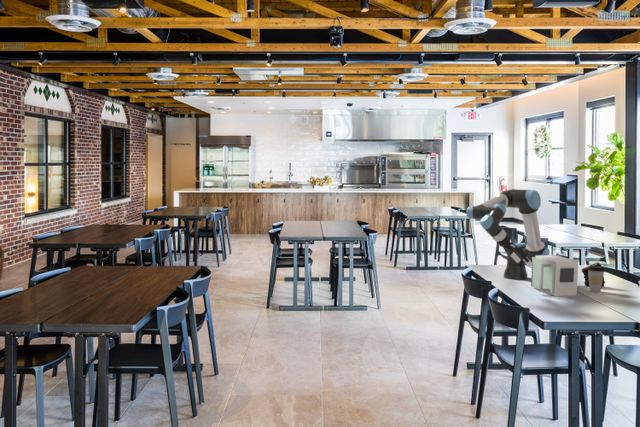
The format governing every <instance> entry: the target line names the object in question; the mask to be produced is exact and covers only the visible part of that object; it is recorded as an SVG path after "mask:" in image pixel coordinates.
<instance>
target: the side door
mask: <svg viewBox="0 0 640 427" xmlns="http://www.w3.org/2000/svg"><path fill="white" fill-rule="evenodd" d="M532 263H533V265H532V266H531V278H530V279H531V280H530V281H531V282H530V286H531V287H533V288H534V287H535V288H534V289H536V288H537V289H536V290H538V292H540V293H542V292H543V293H546V292H548V293H547V294H549V293H550V294H549V295H551V294H554V274H555V263H553V262H549V261H546V260H543V259H539V258H536V257H532Z"/></svg>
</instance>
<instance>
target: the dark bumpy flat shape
mask: <svg viewBox="0 0 640 427" xmlns="http://www.w3.org/2000/svg"><path fill="white" fill-rule="evenodd" d="M589 266H601V267H602V264H601V263H600V262H595V263H593V264H590V265H588V266H586V267H583V268H581V273H582V274H583V275H584V276H583V278H584V282H583V283H584V286H585V287H588V288H589V278H588V274H589V273H588V270H587V269H588V268H589ZM605 283H606V281H605V276H603V282H602V286H601V288H604V287H605Z"/></svg>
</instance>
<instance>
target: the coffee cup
mask: <svg viewBox="0 0 640 427" xmlns="http://www.w3.org/2000/svg"><path fill="white" fill-rule="evenodd" d="M588 266H589V268H588V269H587V270H588V273H589V274H588V278H589V287H588V289H589V292H591V293H595V294H596V293H597V294H598V293H601V291H602V287H601V286H602V282H603V276H604V275H605V268H604V266H602V265H601V266H590V265H588ZM604 277H605V276H604Z"/></svg>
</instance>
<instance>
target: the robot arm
mask: <svg viewBox="0 0 640 427" xmlns="http://www.w3.org/2000/svg"><path fill="white" fill-rule="evenodd" d="M541 201H542V198H541V194H540V193H539V192H538V191H537V190H534V189H508V190H504V191H502V192H499V193H497V194H496V195H495V196H494V197H493V198H492V197H491V199H489V200H486V201H484V202H482V203H480V204H477V205H476V206H475V205H469V206H468V207H467V208H466V218H468V219H472V220H479V224H480V226H481V227H482V229H484V230H485V232H486V233H487V234H489V235H490V237H491V238H492V240H493V241H494V242H496V243H497V244H498V246H500V247H501V248H503V250H504V252H505V253H506V255H507V256H506V267H505V270H504V272H503V277H504V278H506V279H509V280H527V279H528V278H529V277H528V272H527V269H526V266H527V267H529V268H532V265H533V263H532V257H535V256H540V255H550V253H551V252H550V248H548V247H546V244H545V243H544V242H543V241H542V237H541V231H540V225H539V221H538V219H539V218H538V213H537V212H538V210H539V209H540V207H541V203H542V202H541ZM507 208H513V209H518V212H519V214H521V216H522V221H523V226H524V231H525V237H526V243H525V242H517V243H513V242H511V240H512V237H511V236H510V235H509V234H508V233H507V232H506V231H505V230H504V228H503V227H502V226H501V225H500V223H501V222H502V220H503V219H504V217H505V215H506V213H507Z"/></svg>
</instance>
